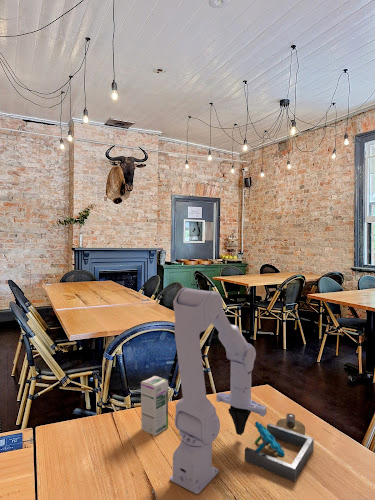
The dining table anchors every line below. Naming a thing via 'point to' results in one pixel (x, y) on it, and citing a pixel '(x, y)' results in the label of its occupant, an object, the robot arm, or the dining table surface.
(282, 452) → the gear
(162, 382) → the syrup box
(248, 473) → the dining table surface
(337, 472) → the dining table surface
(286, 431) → the frame
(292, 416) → the call bell
